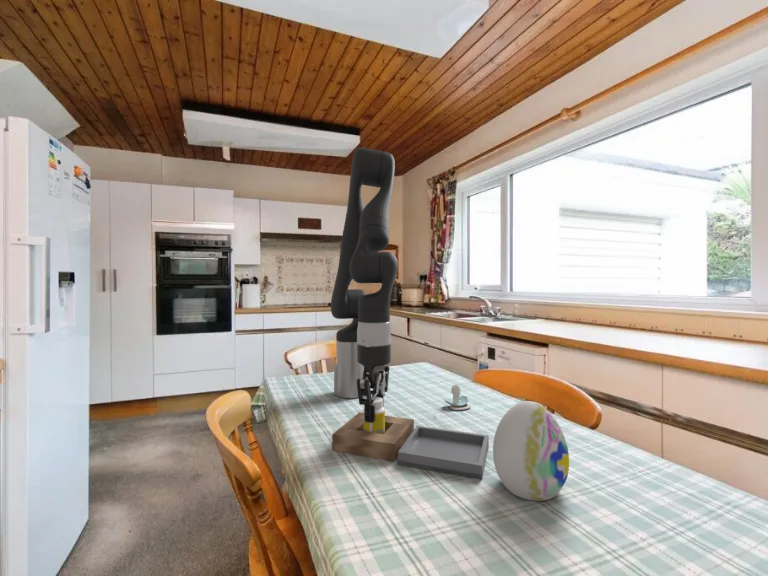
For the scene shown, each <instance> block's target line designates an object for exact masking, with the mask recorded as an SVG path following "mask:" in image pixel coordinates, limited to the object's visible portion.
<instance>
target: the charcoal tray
mask: <svg viewBox="0 0 768 576" xmlns="http://www.w3.org/2000/svg"><path fill="white" fill-rule="evenodd" d="M489 438H490V436H489V435H487V434H482V433H481V434H480V433H475V432H468V431H467V432H465V431H458V430H450V429H445V428H436V427H430V426H429V427H427V426H422V425H416V426H415V427H414V430H413V432H412V433H411V435H410V436H409V437H408V439H407V440H406V442H405V443H404V444H403V446H402V447H401V449H400V450H399V451H398V458H397V465H398V466H403V467H404V466H405V467H408V468H414V469H415V468H416V469H421V470H427V471H432V472H438V473H444V474H450V475H455V476H460V477H467V478H471V479H472V478H473V479H479V480H483V477H484V471H485V467H486V462H487V457H488V451H489V447H490V446H489V443H490V442H489Z"/></svg>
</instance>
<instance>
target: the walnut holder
mask: <svg viewBox="0 0 768 576" xmlns="http://www.w3.org/2000/svg"><path fill="white" fill-rule="evenodd" d="M414 429H415V419H413V418H406V417H399V416H390V415H385V433H384V434H379V433H372V432H366V431H364V412H360V411H359V412H358V413H356V415H354V416H353V417H352V418H350V419H349V420H348V421H347V422H346V423H344V424H343V425H342V426H341V427H339V428H337V430H336V431H334V432H333V433H332V434H331V436H332V437H331V440H332V441H331V444H332V445H331V447H332V448H331V450H332V452H338V453H342V454H343V453H344V454H350V455H355V456H361V457H366V458H367V457H368V458H371V459H373V458H374V459H379V460H384V461H390V462H396V461H397V460H398V451H399V450H400V449H401V447H402V446H403V444H404V443H405V442H406V440H407V439H408V437H409V436H410V435H411V433H412V432H413V430H414Z"/></svg>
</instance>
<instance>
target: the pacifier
mask: <svg viewBox="0 0 768 576" xmlns="http://www.w3.org/2000/svg"><path fill="white" fill-rule="evenodd" d="M450 391H451V394H452V401H450V400H445V399H444V400H443V401H444V402H445V403H446V404H448V405H450V409H451V410H453V411H466V410H469V409H470V408H471V404H469V403H468V402H469V398H468V397H467V396H464V395H462V396H461V395H460V394H461V387H460V386H459V385H458V384H453V385H452V387H451V390H450Z"/></svg>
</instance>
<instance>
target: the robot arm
mask: <svg viewBox="0 0 768 576" xmlns="http://www.w3.org/2000/svg"><path fill="white" fill-rule="evenodd" d="M395 161H396V160H395V157H394V156H393V154H392V153H390V152H388V151H382V150H377V149H372V148H368V147H357V148H356V149H355V151H354V153H353V156H352V161H351V168H350V178H349V190H348V199H347V208H346V214H345V220H344V226H343V231H342V236H341V237H342V238H341V243H340V251H339V252H340V253H339V261H338V267H337V272H336V277H335V281H334V286H333V291H332V295H331V299H330V300H331V301H330V313H331V316H332V317H333V318H334V319H337V320H339V319H340V320H349V319H352V321H351V323H350V324H348V325H347V326H345V327H344V328H341V329H339V330H337V332H336V334H335V335H336V336H335V337H336V339H335V340H336V341H335V343H336V363H335V364H334V365H333V380H334V381H333V395H334V396H336V397H339V398H341V399H342V398H344V399H357V398H358V402H359V403H358V404H359V405H363V407H364V408H363V413H364V420H365V422H370V423H373V422H374V421H375V398H376V397H380V398H382V399H383V407H384V408H385V404H384V403H385V402H384V401H385V400H384V397H385V396H386V393H387V392H388V389H389V376H390V366H389V365H388V364H390V363H391V362H392V330H391V329H392V328H391V297H392V292H393V286H394V284H395V280H396V278H397V277H396V276H397V273H398V268H399V262H398V259H397V257H396V255H395V254H394V253H393V252H392V251H384V250H385V249H386V248H387V247H388V246H389V242H390V208H391V201H392V198H393V197H392V195H393V189H394V188H393V187H394V181H395V179H394V178H395V169H396V168H395V166H396V165H395V164H396V163H395ZM362 186H366V187H373V188H380V189H379V191H377V193H376V194H375V196H374V197H373V198H372V199H371V200H370V201H369V202H368V203H367V204H366V205H365V203H364V200H363V196H362ZM352 281H354V282H355V283H357V284H381V287H380V289H379V290H377V291H375V292H372V293H367V294H366V292H365V290H363V289H360V288H359V289H358V288H357V289H356V288H353V289H349V287H350V285H351V282H352ZM371 389H372V390H371ZM371 397H372V398H371Z"/></svg>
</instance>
